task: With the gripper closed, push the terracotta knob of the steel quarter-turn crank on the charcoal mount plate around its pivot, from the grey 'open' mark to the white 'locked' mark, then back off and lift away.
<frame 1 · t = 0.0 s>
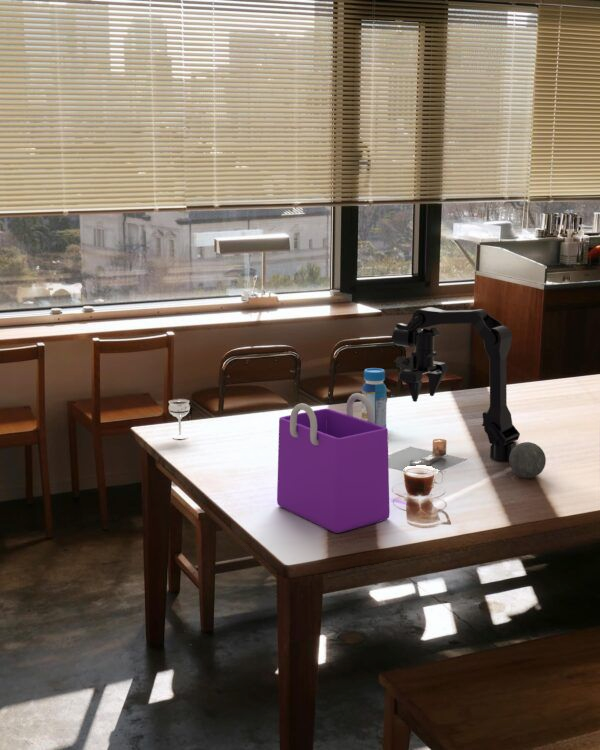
hand: (423, 398, 315), 15 cm above the table, fingers open, 9 cm apart
crank: (429, 453, 297), point 4 cm above the table, hinge at 0.0°
beverage bottle: (373, 430, 335), on the table
wineglass: (180, 438, 327), on the table
decorative ball: (526, 477, 287), on the table
mount plate: (418, 464, 299), on the table
shopping bag: (332, 513, 260), on the table
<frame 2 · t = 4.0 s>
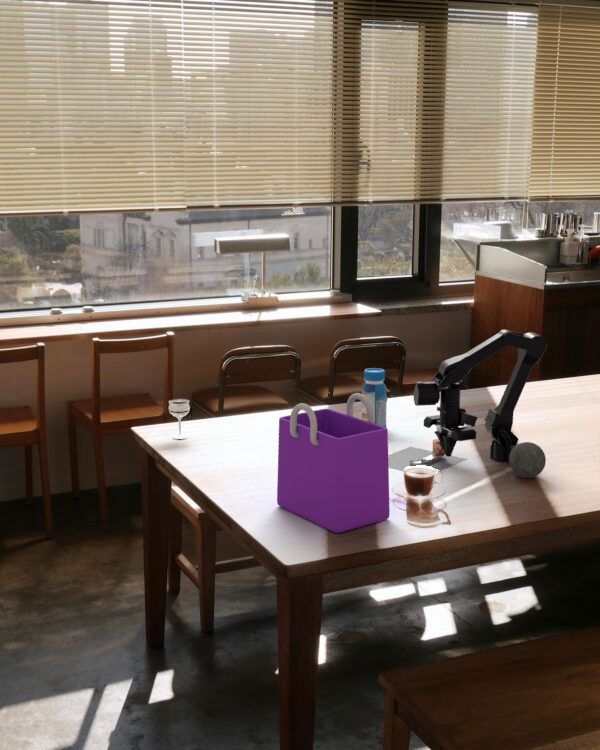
hand: (448, 456, 298), 3 cm above the table, fingers closed
crank: (429, 453, 297), point 4 cm above the table, hinge at 0.0°, touching gripper
everything else where it was.
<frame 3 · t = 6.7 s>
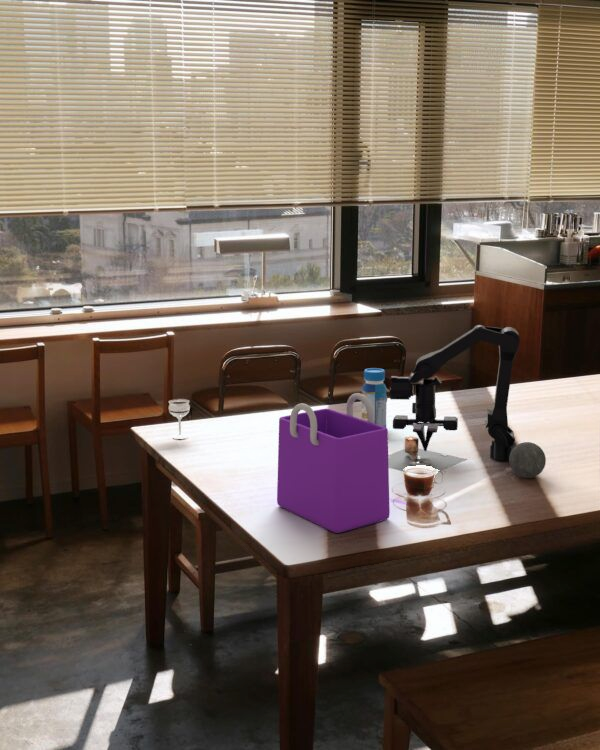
hand: (425, 450, 303), 3 cm above the table, fingers closed
crank: (416, 452, 298), point 4 cm above the table, hinge at 48.9°, touching gripper
everything else where it was.
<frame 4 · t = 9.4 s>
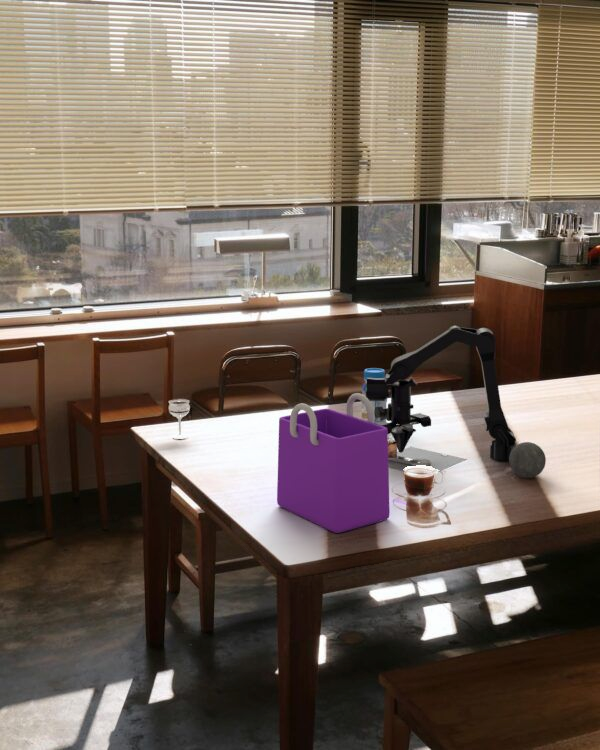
hand: (400, 452, 302), 3 cm above the table, fingers closed
crank: (406, 454, 296), point 4 cm above the table, hinge at 94.9°, touching gripper
everything else where it was.
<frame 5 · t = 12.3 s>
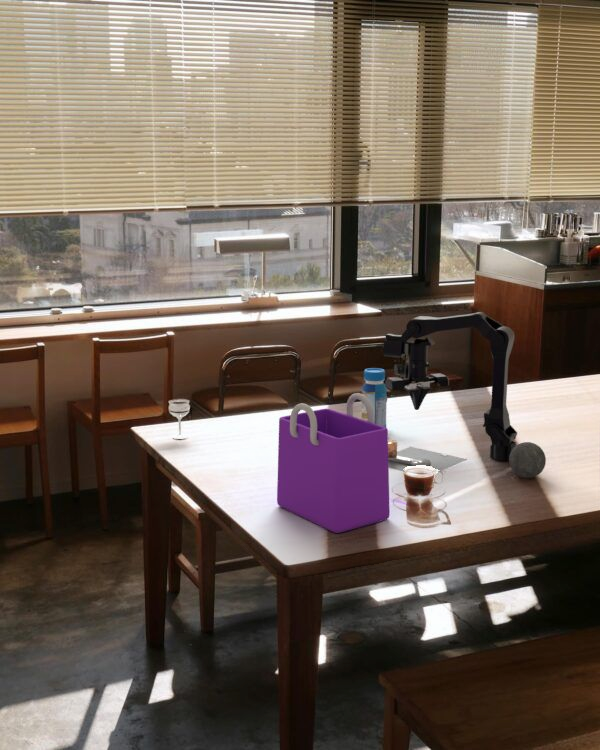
hand: (416, 409, 309), 13 cm above the table, fingers closed
crank: (406, 454, 296), point 4 cm above the table, hinge at 94.9°
everything else where it was.
at the end: crank at +95° (first picture: +0°); the gripper is holding nothing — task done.
